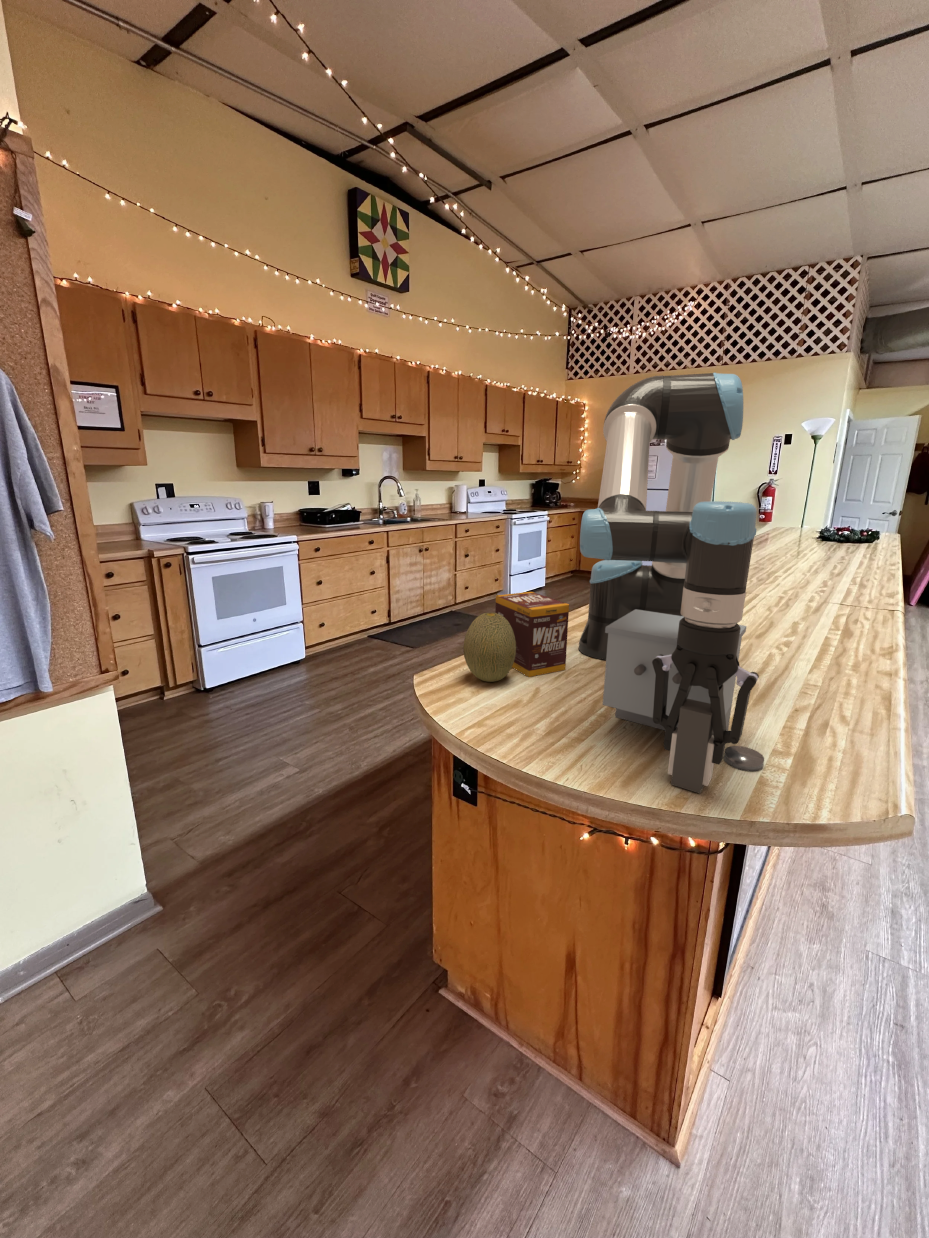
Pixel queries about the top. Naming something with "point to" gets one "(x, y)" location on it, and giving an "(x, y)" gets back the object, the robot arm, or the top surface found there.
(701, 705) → the scraper
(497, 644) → the fruit
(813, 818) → the top surface
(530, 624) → the supplement box
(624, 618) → the cabinet
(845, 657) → the top surface
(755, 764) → the steel puck
